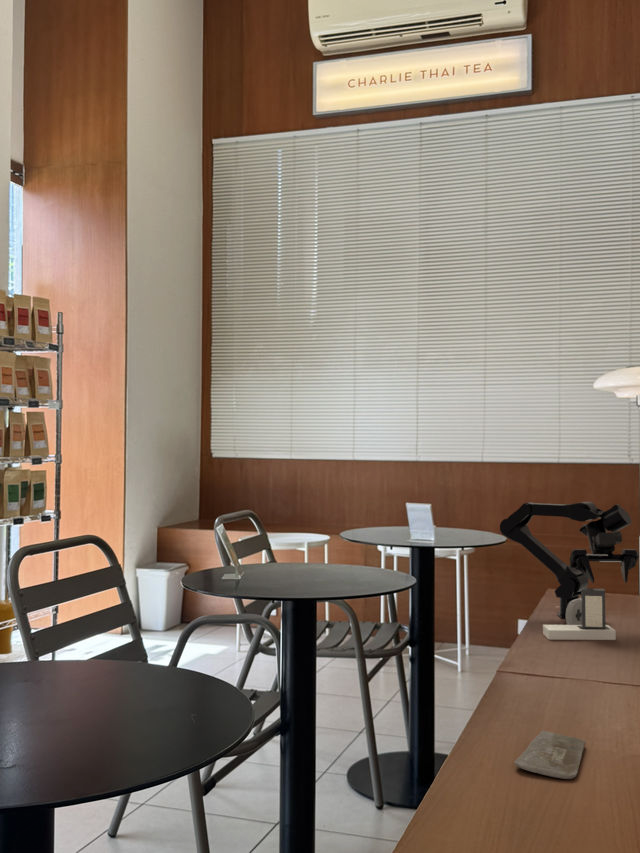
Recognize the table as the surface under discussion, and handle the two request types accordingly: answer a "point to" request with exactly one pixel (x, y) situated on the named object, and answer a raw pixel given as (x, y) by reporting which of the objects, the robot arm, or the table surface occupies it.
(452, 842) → the table surface
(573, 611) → the game controller
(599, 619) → the charcoal grey box
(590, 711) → the table surface
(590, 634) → the recessed rectangular block
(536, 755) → the stone
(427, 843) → the table surface
